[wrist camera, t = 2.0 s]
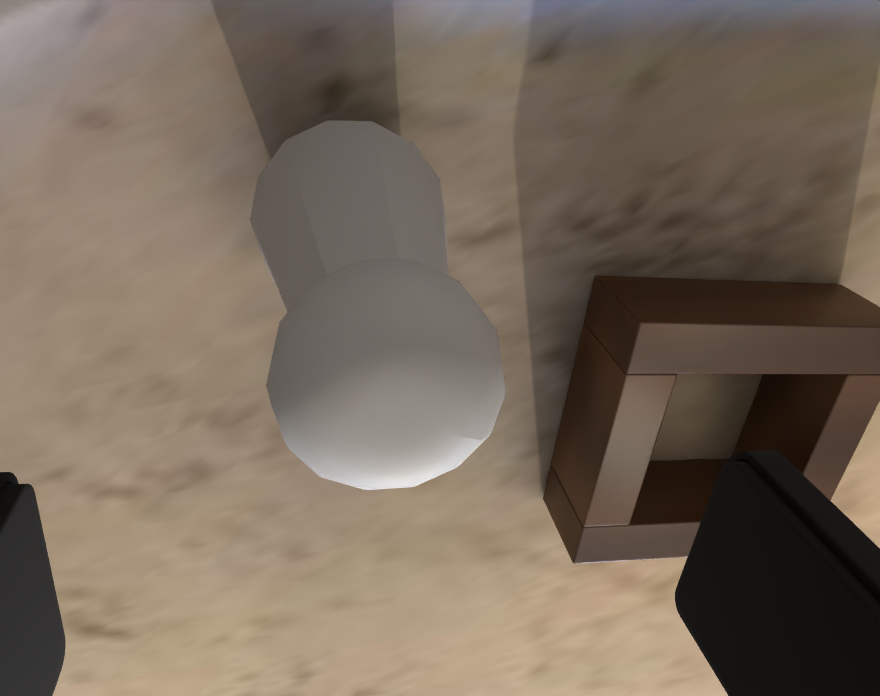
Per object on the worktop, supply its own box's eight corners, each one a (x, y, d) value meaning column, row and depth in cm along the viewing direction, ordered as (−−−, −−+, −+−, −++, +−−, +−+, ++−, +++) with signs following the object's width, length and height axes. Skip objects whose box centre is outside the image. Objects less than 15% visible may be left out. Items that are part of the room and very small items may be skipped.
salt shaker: (307, 302, 24) (316, 588, 13) (220, 154, 21) (137, 359, 10) (456, 233, 24) (597, 464, 13) (390, 74, 21) (497, 194, 10)
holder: (594, 275, 26) (640, 322, 22) (841, 283, 28) (916, 327, 25) (542, 498, 31) (572, 564, 27) (754, 490, 33) (806, 550, 30)
